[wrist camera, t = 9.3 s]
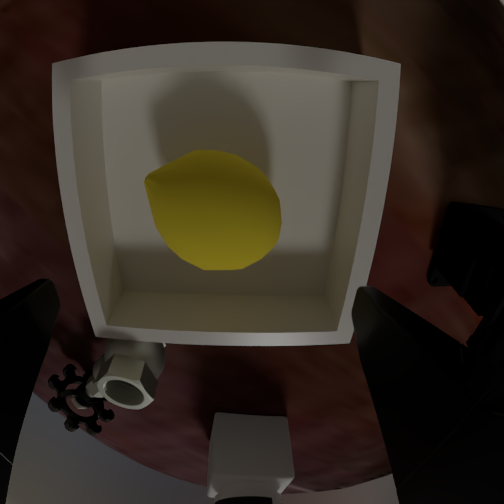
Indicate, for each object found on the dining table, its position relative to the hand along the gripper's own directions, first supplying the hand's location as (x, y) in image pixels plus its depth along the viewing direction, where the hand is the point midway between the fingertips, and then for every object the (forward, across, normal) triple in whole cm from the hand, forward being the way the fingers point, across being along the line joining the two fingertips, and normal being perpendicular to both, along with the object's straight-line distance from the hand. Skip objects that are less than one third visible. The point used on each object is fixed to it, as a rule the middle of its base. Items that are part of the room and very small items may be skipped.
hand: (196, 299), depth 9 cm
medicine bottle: (+11, -2, +25) cm, 27 cm away
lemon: (+10, 0, 0) cm, 10 cm away
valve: (+11, +8, +13) cm, 19 cm away
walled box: (+10, 0, 0) cm, 10 cm away
